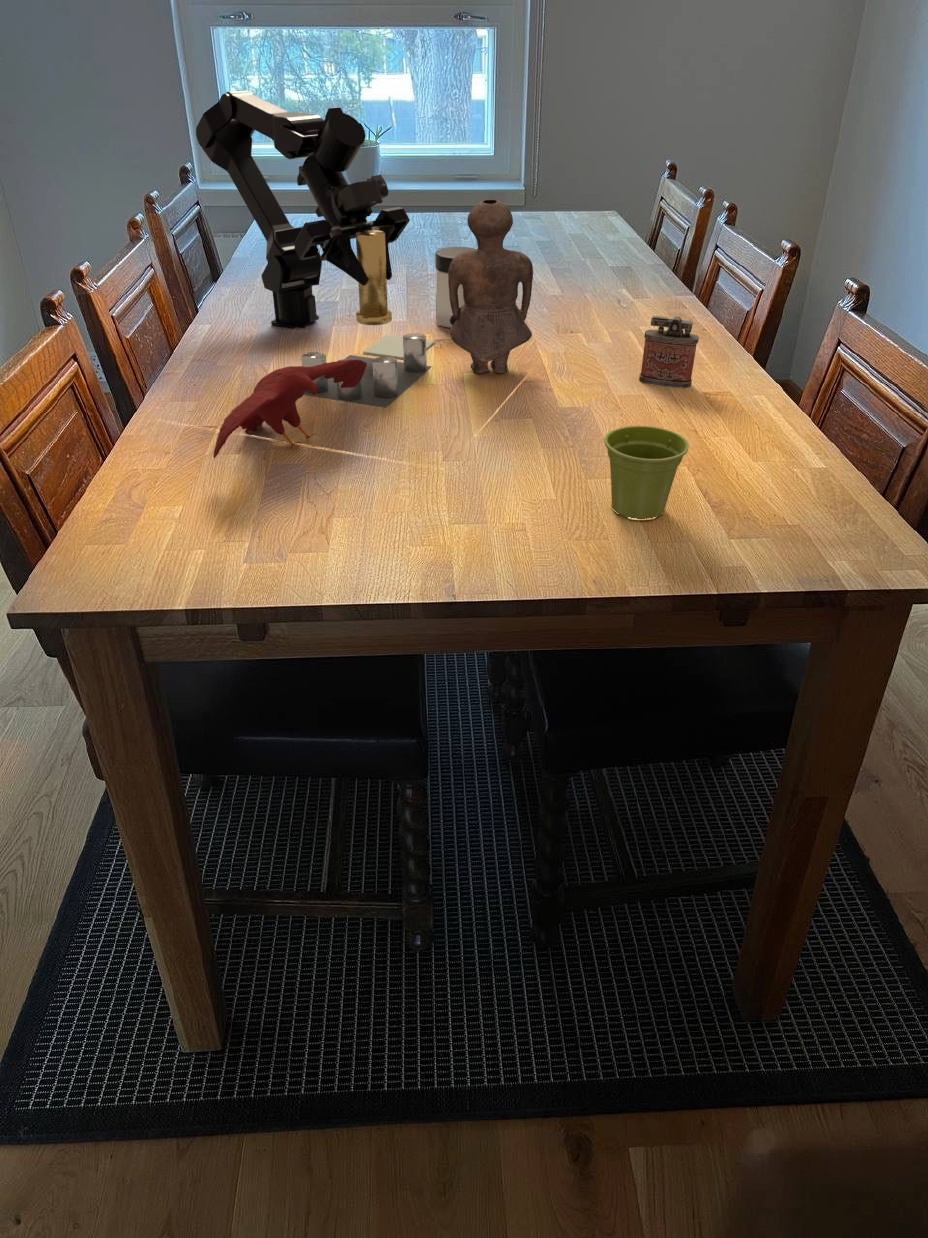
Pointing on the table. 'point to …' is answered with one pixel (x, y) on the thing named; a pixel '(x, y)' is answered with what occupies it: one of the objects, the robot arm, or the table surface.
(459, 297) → the jar
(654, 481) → the plant pot
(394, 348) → the tile
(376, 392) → the spacers
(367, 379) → the mat
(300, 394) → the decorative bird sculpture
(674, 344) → the lighter
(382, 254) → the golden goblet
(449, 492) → the table surface
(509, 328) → the clay figurine
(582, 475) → the table surface
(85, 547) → the table surface
